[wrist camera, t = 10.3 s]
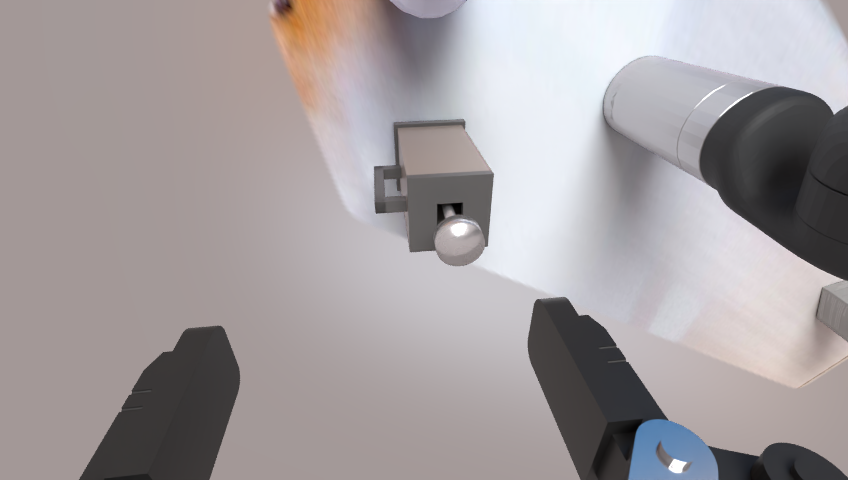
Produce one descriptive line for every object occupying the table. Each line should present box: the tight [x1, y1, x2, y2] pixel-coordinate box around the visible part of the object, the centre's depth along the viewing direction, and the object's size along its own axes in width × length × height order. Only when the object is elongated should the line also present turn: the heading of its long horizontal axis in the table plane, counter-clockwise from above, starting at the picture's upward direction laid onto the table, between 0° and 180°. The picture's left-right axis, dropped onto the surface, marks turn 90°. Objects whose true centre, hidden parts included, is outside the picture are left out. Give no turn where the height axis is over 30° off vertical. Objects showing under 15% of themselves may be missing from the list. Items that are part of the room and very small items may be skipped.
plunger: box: [434, 203, 485, 266], centre depth 40 cm, size 6×6×17 cm
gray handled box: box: [374, 119, 494, 252], centre depth 43 cm, size 11×8×16 cm
